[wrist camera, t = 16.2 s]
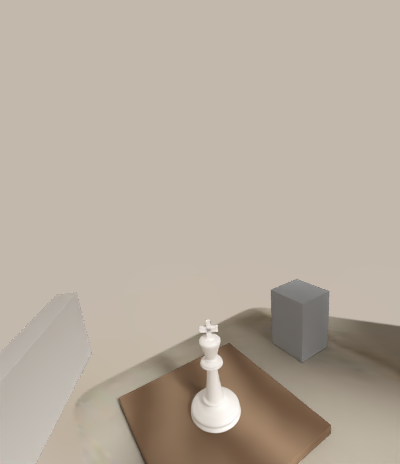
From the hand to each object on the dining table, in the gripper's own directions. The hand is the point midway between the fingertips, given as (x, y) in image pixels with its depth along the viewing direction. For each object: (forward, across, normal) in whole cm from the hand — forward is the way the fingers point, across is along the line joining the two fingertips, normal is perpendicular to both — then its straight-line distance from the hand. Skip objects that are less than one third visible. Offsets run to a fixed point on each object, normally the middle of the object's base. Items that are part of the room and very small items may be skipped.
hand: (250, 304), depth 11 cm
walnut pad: (+13, -2, -20) cm, 23 cm away
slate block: (+23, +10, -20) cm, 32 cm away
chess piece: (+13, -2, -19) cm, 23 cm away
